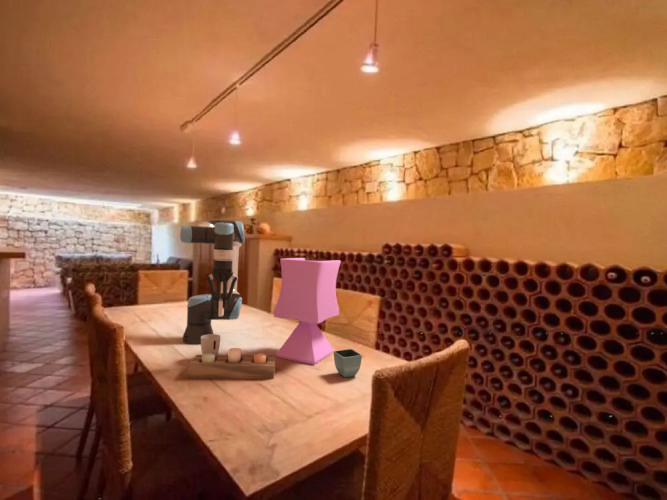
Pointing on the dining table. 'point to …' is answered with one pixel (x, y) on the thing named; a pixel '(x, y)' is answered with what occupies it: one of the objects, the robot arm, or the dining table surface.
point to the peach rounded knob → (234, 355)
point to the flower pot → (347, 362)
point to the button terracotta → (260, 358)
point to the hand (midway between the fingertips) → (220, 315)
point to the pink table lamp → (307, 307)
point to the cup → (210, 343)
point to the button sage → (208, 357)
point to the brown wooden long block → (232, 368)
